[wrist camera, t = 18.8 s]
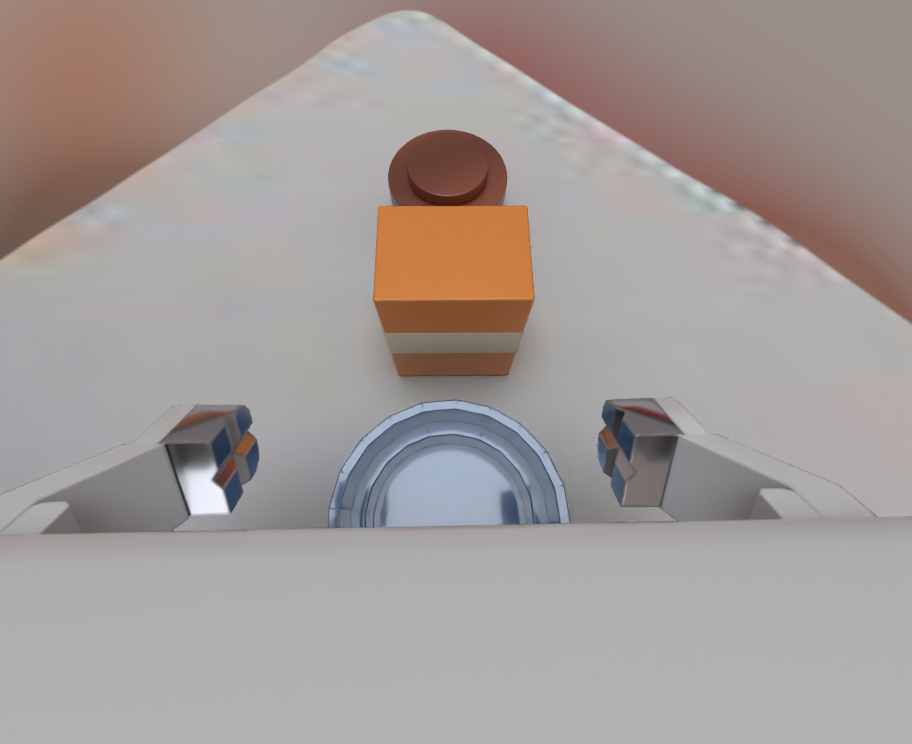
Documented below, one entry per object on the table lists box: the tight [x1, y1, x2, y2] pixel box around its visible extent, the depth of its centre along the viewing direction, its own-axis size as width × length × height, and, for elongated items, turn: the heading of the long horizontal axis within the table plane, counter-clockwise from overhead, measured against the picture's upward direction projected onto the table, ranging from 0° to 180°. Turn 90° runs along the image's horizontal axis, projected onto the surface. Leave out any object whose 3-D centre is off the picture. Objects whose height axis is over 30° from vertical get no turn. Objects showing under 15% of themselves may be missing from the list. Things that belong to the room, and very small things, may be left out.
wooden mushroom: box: [388, 130, 507, 206], centre depth 24 cm, size 6×6×4 cm
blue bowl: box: [329, 400, 570, 528], centre depth 19 cm, size 9×9×4 cm
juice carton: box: [373, 206, 534, 376], centre depth 20 cm, size 6×4×8 cm
